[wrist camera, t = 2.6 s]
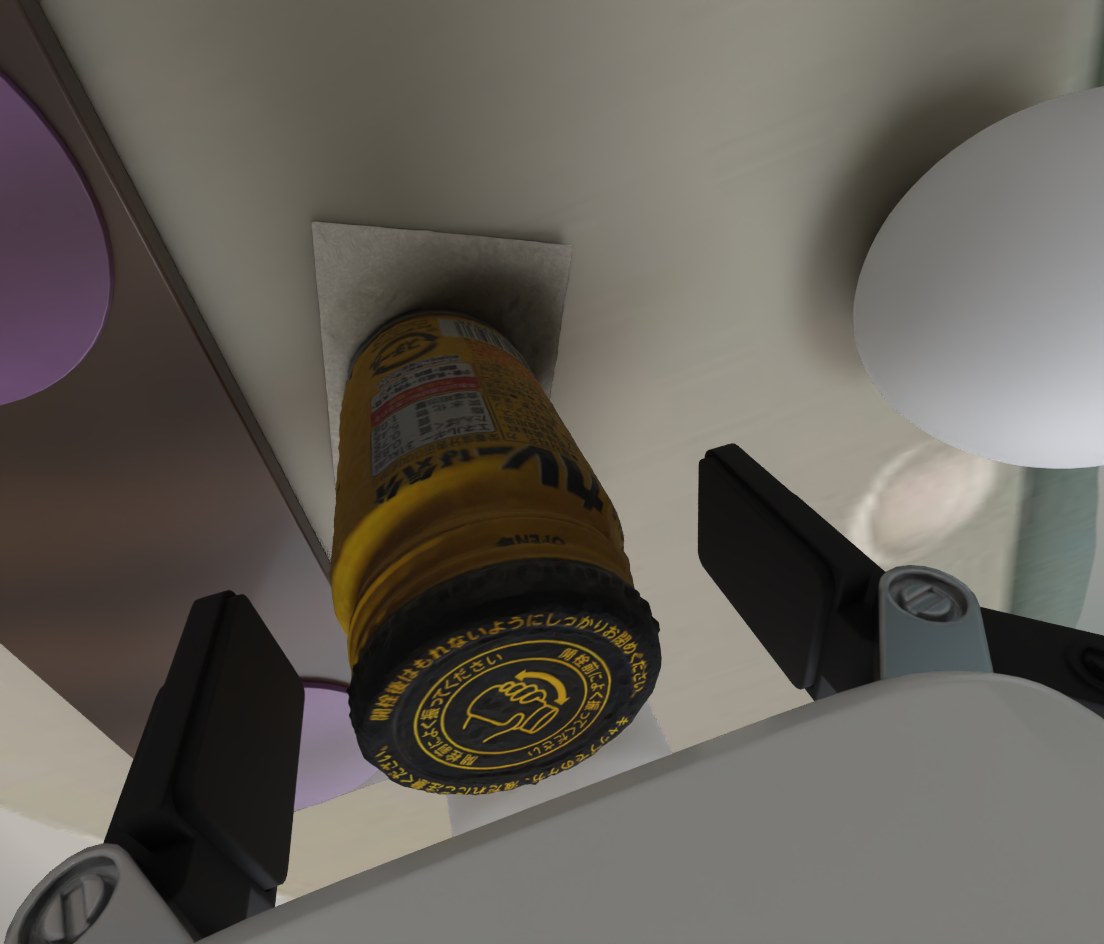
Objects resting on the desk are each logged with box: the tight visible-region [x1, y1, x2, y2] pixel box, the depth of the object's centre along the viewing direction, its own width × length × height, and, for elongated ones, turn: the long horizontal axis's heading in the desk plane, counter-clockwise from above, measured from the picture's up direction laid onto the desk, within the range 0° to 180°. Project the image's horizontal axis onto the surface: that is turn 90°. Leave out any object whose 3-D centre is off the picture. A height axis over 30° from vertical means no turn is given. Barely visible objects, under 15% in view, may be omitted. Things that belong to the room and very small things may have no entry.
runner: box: [0, 0, 389, 812], centre depth 18 cm, size 32×10×1 cm, turn 8°
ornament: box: [853, 87, 1104, 468], centre depth 16 cm, size 10×10×12 cm
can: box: [447, 700, 673, 837], centre depth 19 cm, size 6×6×12 cm
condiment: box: [311, 221, 662, 795], centre depth 13 cm, size 7×8×12 cm
